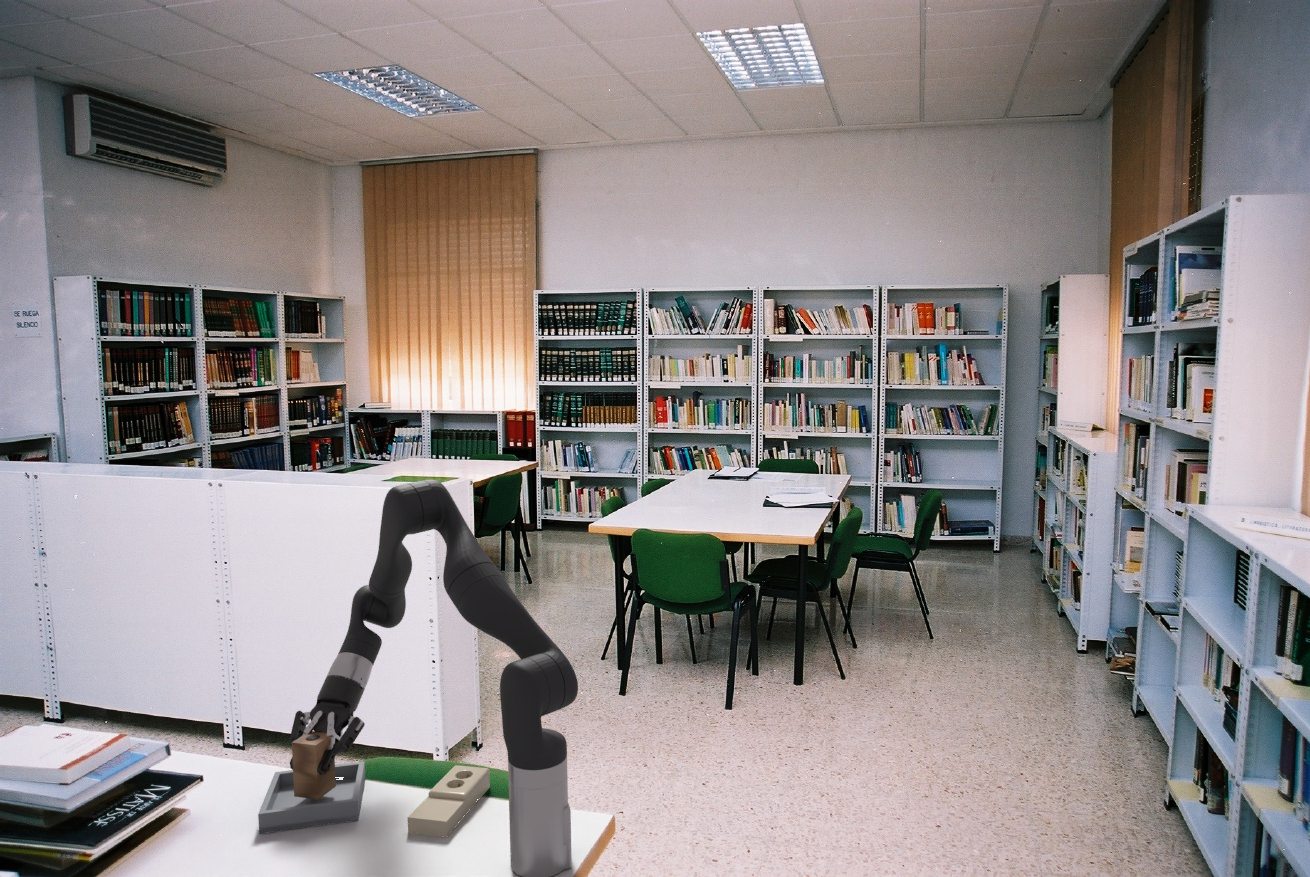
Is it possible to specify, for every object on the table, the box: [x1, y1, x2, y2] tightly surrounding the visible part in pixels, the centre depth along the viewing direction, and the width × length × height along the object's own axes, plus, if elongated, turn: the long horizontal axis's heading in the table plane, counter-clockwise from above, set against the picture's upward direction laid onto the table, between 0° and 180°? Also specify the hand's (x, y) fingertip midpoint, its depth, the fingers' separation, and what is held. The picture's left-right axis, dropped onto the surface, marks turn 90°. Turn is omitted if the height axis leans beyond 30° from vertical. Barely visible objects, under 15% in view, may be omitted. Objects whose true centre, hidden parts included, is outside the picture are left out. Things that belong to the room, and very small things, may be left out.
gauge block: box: [291, 730, 336, 800], centre depth 152 cm, size 5×5×10 cm
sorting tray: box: [257, 761, 366, 835], centre depth 153 cm, size 16×16×4 cm
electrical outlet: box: [407, 764, 491, 838], centre depth 151 cm, size 7×4×18 cm
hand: (307, 771), depth 150 cm, fingers closed on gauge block, 5 cm apart
